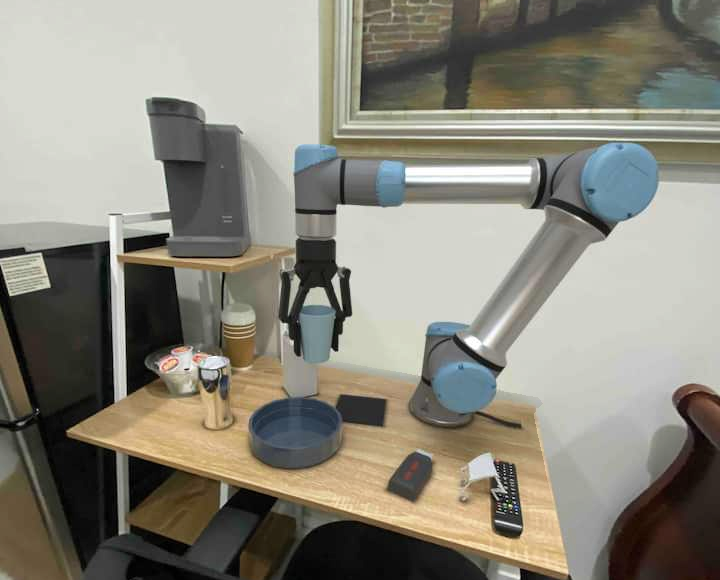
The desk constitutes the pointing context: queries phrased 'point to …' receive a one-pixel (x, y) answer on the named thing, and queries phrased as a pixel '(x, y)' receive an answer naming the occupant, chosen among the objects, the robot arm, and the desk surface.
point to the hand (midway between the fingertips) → (316, 351)
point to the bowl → (295, 432)
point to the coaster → (361, 409)
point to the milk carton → (298, 371)
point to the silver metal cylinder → (215, 390)
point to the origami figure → (481, 473)
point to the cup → (316, 332)
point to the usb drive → (411, 475)
